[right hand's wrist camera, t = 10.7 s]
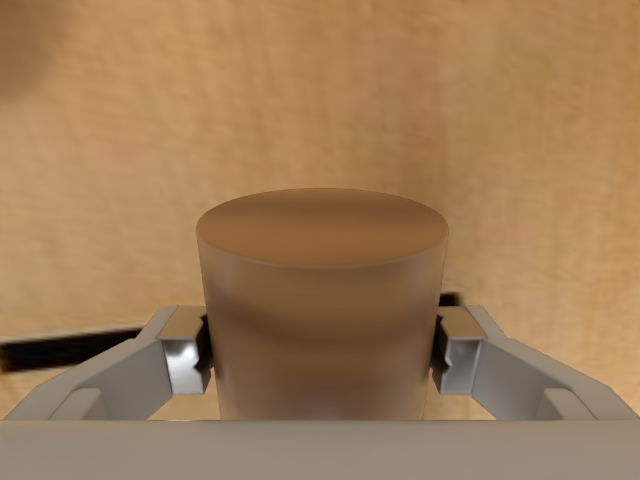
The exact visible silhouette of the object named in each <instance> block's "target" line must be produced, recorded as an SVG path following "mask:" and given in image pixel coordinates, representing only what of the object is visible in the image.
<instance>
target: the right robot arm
mask: <svg viewBox="0 0 640 480" xmlns="http://www.w3.org/2000/svg"><path fill="white" fill-rule="evenodd" d="M213 366H214V363H213V356H212V348H211V341H210V333H209V325H208V318H207V310H206V306H162V307H160V308H159V309H158V310H157V312H156V313H155V314H154V315H153V317H152V318H151V319H150V321H149V322H148V323H147V324H146V326H145V327H144V328H143V330H142V331H141V332H140V333H139V335H138V336H137V337H136V338H135V339H128V340H127V341H125V342H123V343H121V344H119V345H117V346H115V347H113V348H111V349H109V350H107V351H105V352H103V353H101V354H99V355H97V356H95V357H93V358H91V359H89V360H87V361H85V362H83V363H81V364H79V365H77V366H75V367H73V368H71V369H69V370H68V371H66V372H64V373H62V374H60V375H58V376H56V377H54V378H52V379H50V380H48V381H46V382H44V383H42V384H40V385H38V386H36V387H35V388H34V389H33V390H32V391H31V392H30V393H29V394H28V395H27V396H26V397H25V398H24V399H23V400H22V401H21V402H20V403H19V404H18V405H17V406H16V407H15V408H14V409H13V410H12V411H11V412H10V413H9V414H8V415H7V416H6V417H5V418H4V419H3V420H0V480H640V417H639V416H638V415H637V414H636V413H635V412H634V411H633V410H632V409H631V408H630V407H629V406H628V405H627V404H626V403H625V402H624V401H623V400H622V399H621V398H620V397H619V396H618V395H617V394H616V393H615V392H614V391H613V390H612V389H611V388H610V387H608V386H606V385H604V384H602V383H601V382H599V381H597V380H595V379H593V378H591V377H589V376H587V375H585V374H583V373H581V372H579V371H577V370H575V369H573V368H571V367H569V366H567V365H565V364H563V363H561V362H559V361H557V360H555V359H553V358H551V357H549V356H547V355H545V354H543V353H541V352H539V351H537V350H535V349H533V348H531V347H529V346H527V345H525V344H523V343H521V342H519V341H517V340H515V339H508V337H507V336H506V335H505V334H504V332H503V331H502V330H501V329H500V327H499V326H498V325H497V324H496V322H495V321H494V320H493V319H492V317H491V316H490V315H489V314H488V312H487V311H486V310H485V309H484V307H482V306H480V305H479V306H451V307H438V312H437V319H436V326H435V333H434V340H433V348H432V355H431V362H430V367H431V368H433V373H432V377H433V379H434V382H435V384H436V387H437V389H438V391H439V394H447V395H471V397H472V398H473V399H475V400H476V401H477V402H478V403H479V404H480V405H481V406H483V407H484V408H485V409H486V410H487V411H488V412H489V413H491V414H492V415H493V416H494V417H495V418H496V419H497V420H147V419H148V418H149V417H150V416H151V415H152V414H153V413H155V412H156V411H157V410H158V409H159V408H160V407H161V406H162V405H164V404H165V403H166V402H167V401H168V400H169V399H170V398H172V395H195V394H204V393H205V390H206V388H207V385H208V383H209V380H210V378H211V371H210V369H211V368H212V367H213Z"/></svg>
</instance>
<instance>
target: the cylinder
mask: <svg viewBox="0 0 640 480" xmlns="http://www.w3.org/2000/svg"><path fill="white" fill-rule="evenodd" d="M196 234H197V242H198V250H199V257H200V265H201V272H202V280H203V288H204V295H205V303H206V310H207V318H208V325H209V333H210V341H211V348H212V356H213V363H214V371H215V379H216V386H217V394H218V401H219V409H220V417H221V420H422V419H423V412H424V404H425V397H426V390H427V383H428V376H429V369H430V362H431V355H432V348H433V340H434V333H435V326H436V319H437V312H438V305H439V298H440V291H441V284H442V276H443V269H444V262H445V255H446V248H447V241H448V234H449V228H448V225H447V222H446V220H445V219H444V218H443V217H442V216H441V215H440V214H439V213H438V212H436V211H435V210H433V209H431V208H429V207H427V206H425V205H423V204H420V203H418V202H415V201H412V200H409V199H406V198H402V197H398V196H394V195H389V194H384V193H378V192H371V191H363V190H352V189H335V188H307V189H290V190H279V191H271V192H264V193H259V194H253V195H249V196H244V197H241V198H237V199H234V200H231V201H228V202H225V203H223V204H220V205H218V206H216V207H214V208H212V209H211V210H209V211H207V212H206V213H205V214H204V215H202V217H201V218H200V219H199V221H198V223H197V226H196Z"/></svg>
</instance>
